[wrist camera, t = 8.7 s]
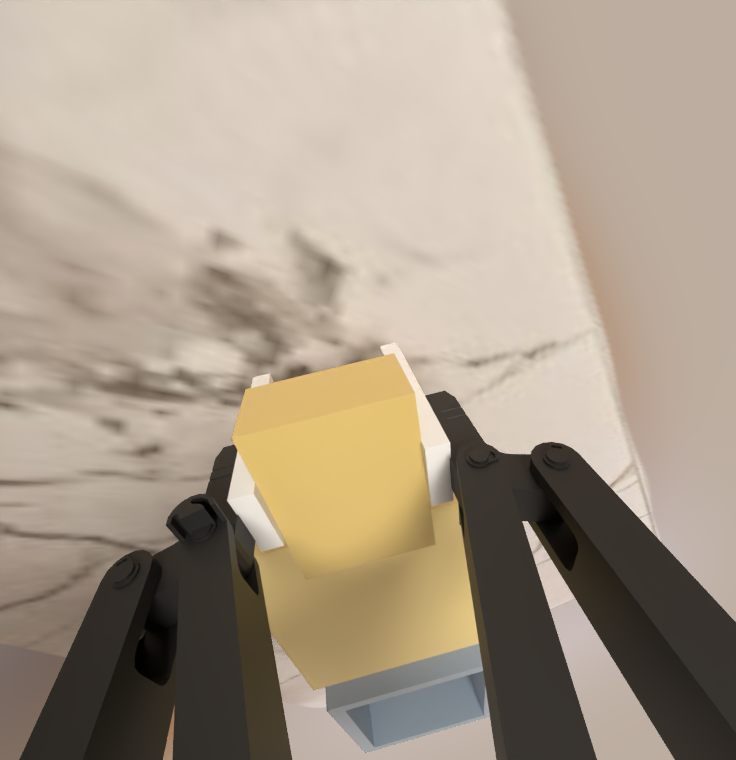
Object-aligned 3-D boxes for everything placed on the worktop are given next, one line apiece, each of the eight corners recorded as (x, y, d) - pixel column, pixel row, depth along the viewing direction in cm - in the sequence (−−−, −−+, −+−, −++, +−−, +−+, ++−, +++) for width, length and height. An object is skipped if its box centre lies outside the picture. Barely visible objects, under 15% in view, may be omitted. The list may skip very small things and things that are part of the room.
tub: (318, 551, 31) (326, 711, 22) (443, 518, 32) (500, 661, 23) (350, 615, 39) (365, 753, 30) (449, 588, 40) (494, 715, 31)
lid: (138, 415, 11) (97, 472, 9) (494, 328, 11) (538, 362, 9) (313, 670, 22) (314, 723, 20) (491, 620, 22) (511, 666, 20)
